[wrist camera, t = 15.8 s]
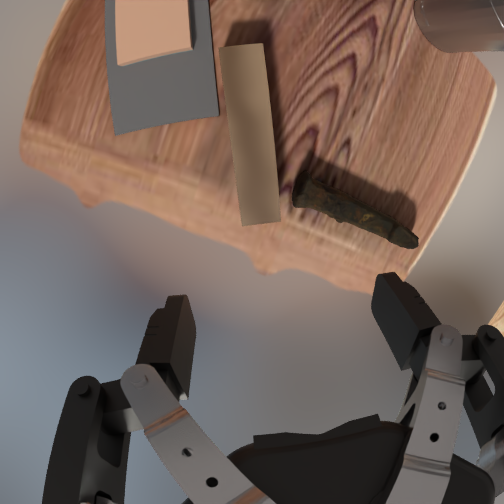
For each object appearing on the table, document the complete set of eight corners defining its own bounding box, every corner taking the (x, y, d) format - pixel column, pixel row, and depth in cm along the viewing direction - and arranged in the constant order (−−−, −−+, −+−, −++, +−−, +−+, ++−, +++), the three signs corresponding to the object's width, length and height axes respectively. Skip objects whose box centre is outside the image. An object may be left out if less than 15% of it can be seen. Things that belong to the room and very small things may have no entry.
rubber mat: (204, -45, 17) (204, -46, 16) (219, 115, 27) (218, 115, 27) (107, -20, 17) (106, -21, 16) (116, 135, 27) (115, 135, 27)
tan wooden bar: (258, 53, 24) (262, 43, 20) (274, 205, 33) (281, 221, 29) (221, 57, 24) (218, 47, 20) (241, 209, 33) (241, 226, 29)
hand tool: (285, 196, 33) (293, 211, 29) (300, 166, 31) (311, 176, 27) (397, 249, 37) (413, 266, 33) (411, 227, 35) (429, 242, 31)
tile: (193, 50, 23) (188, -21, 18) (190, 47, 22) (185, -26, 17) (122, 66, 23) (120, -3, 18) (117, 64, 22) (115, -8, 17)
